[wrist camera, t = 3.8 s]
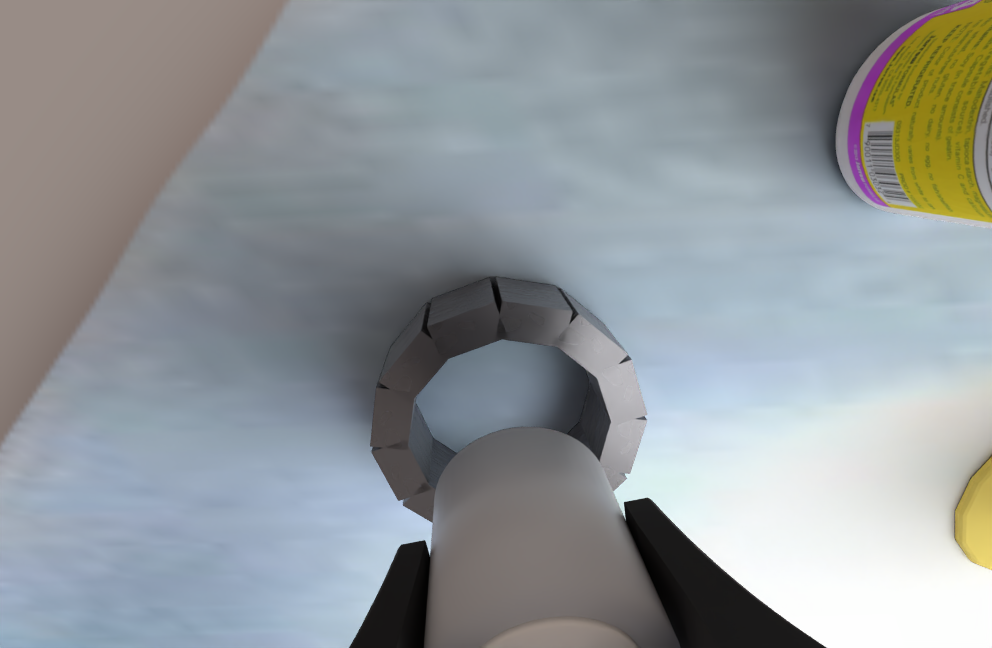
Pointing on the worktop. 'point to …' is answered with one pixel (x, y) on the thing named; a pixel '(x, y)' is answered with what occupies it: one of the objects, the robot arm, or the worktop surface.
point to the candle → (976, 518)
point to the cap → (536, 552)
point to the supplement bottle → (924, 119)
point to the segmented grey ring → (478, 322)
